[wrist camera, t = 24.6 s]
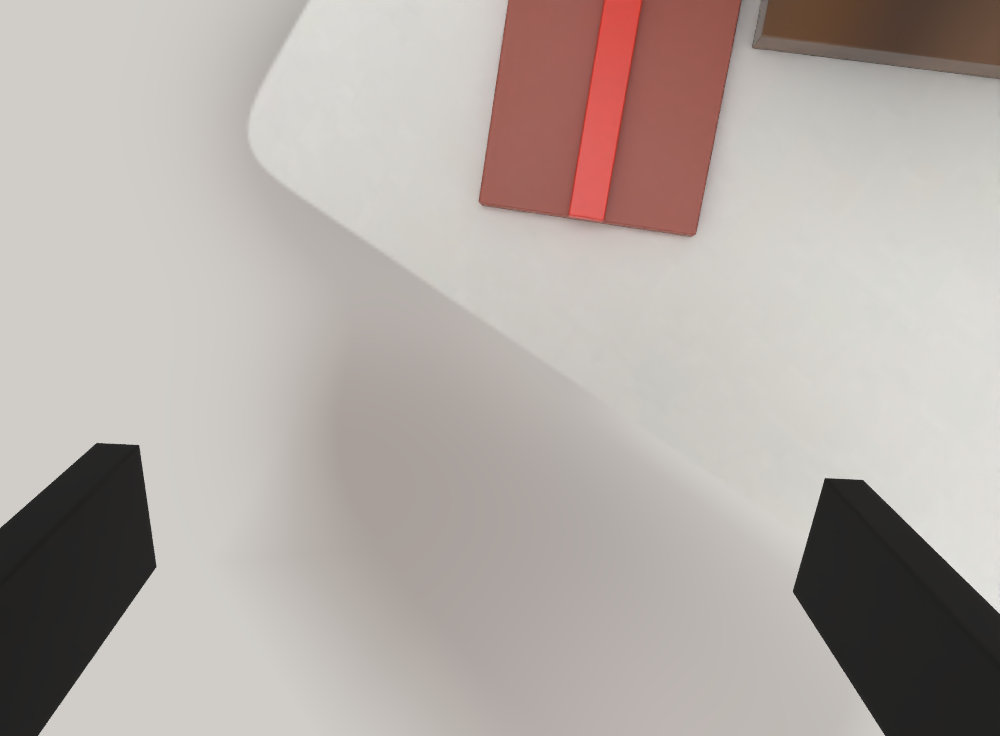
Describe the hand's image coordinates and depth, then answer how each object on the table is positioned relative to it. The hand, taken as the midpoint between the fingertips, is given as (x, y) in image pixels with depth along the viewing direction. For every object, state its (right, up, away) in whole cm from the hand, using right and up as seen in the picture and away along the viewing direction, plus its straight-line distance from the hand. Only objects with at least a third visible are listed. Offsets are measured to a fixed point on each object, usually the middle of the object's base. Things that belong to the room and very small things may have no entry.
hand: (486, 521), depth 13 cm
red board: (+6, +20, +17) cm, 27 cm away
